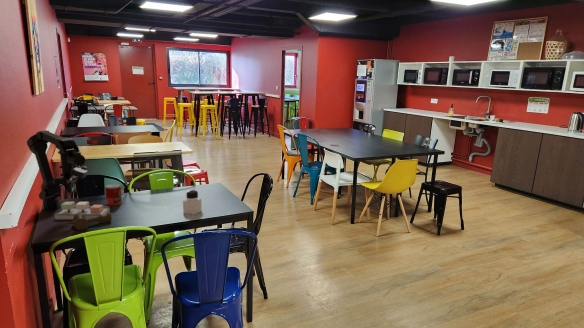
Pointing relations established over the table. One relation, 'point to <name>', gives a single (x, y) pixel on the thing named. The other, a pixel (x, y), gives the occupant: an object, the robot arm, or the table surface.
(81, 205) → the key white
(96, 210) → the key terracotta
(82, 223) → the kendama
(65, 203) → the key sage
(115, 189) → the canned food
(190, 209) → the medicine bottle
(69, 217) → the keypad base
